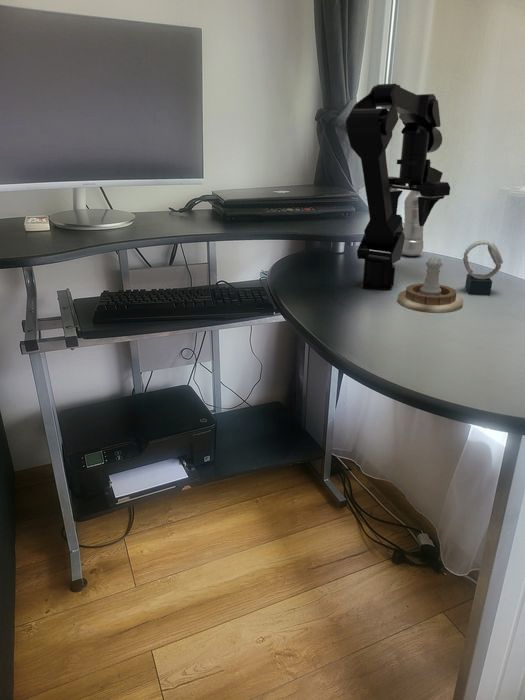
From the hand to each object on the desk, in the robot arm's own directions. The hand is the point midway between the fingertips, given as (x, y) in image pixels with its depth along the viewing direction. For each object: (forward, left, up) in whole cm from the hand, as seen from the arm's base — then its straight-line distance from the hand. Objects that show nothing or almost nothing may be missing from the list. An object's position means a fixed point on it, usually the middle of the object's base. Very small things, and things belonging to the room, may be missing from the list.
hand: (406, 223), depth 125 cm
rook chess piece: (+5, -24, -11) cm, 27 cm away
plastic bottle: (+3, +18, -12) cm, 22 cm away
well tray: (+5, -24, -12) cm, 27 cm away
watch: (+16, -14, -12) cm, 24 cm away
